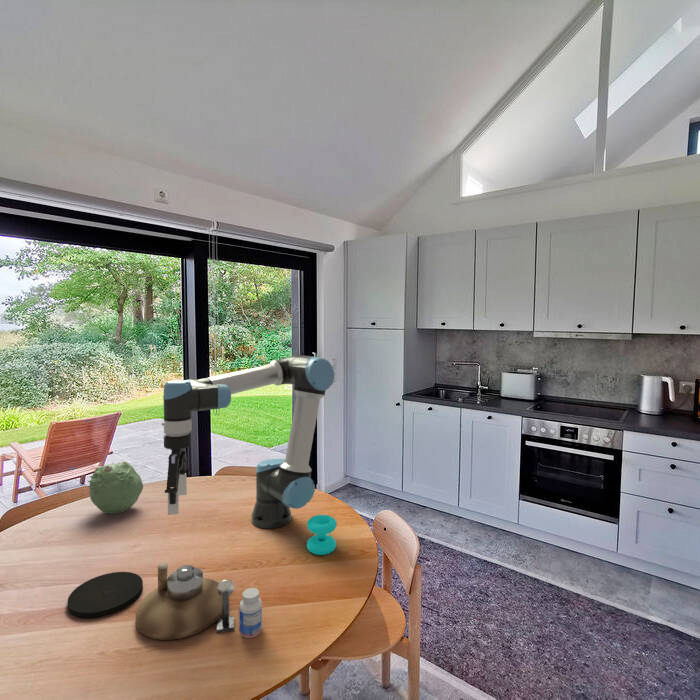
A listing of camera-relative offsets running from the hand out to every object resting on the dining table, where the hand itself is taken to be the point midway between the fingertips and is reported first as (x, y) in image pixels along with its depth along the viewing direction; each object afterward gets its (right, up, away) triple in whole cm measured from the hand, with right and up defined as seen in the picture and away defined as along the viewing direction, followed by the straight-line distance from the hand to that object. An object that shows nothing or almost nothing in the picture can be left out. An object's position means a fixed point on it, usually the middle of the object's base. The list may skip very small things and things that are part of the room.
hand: (177, 504), depth 125 cm
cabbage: (-41, -19, +42) cm, 61 cm away
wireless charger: (-16, -22, -9) cm, 29 cm away
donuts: (+41, -22, +18) cm, 50 cm away
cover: (+6, -20, -10) cm, 23 cm away
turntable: (+7, -23, -15) cm, 28 cm away
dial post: (+20, -23, -20) cm, 36 cm away
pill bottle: (+27, -24, -21) cm, 41 cm away
